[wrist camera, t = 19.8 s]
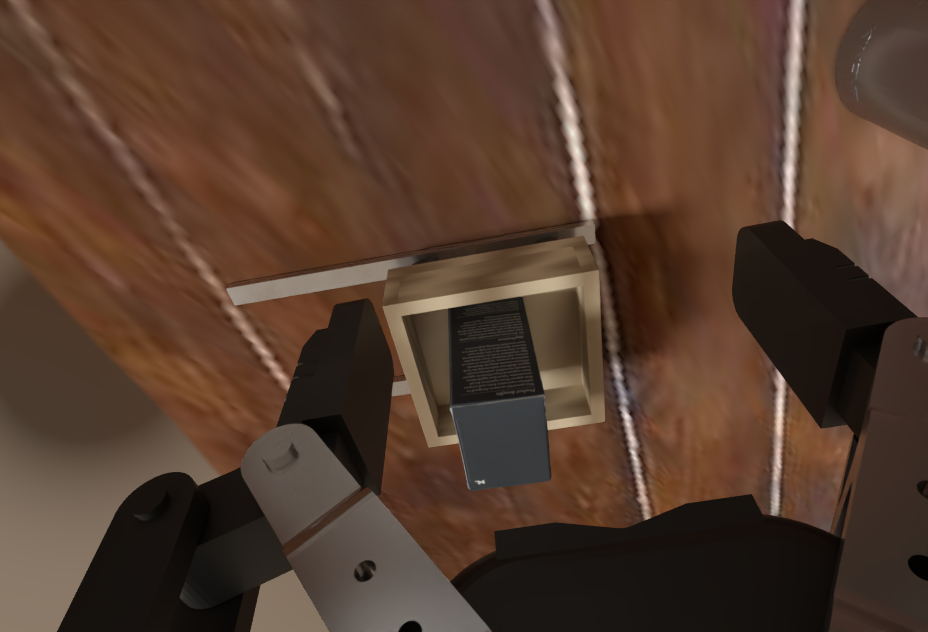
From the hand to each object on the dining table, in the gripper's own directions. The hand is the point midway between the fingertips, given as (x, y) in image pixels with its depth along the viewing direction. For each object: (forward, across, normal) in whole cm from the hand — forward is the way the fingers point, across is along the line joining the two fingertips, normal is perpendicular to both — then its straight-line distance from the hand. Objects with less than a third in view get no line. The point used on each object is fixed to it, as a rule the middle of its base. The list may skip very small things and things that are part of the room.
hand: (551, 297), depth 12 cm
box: (+23, +3, +19) cm, 30 cm away
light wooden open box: (+26, +3, +19) cm, 33 cm away
